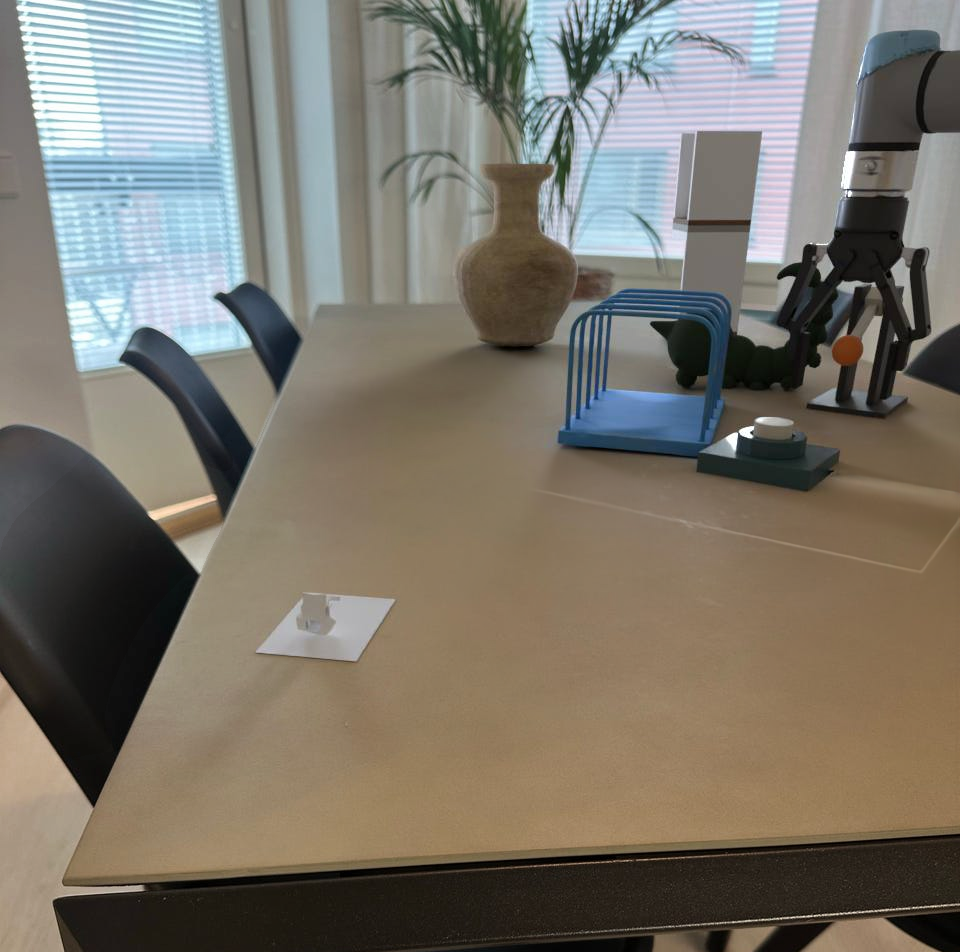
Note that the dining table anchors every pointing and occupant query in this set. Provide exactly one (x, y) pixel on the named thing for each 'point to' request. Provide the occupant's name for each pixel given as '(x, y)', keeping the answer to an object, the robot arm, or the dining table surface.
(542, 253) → the vase
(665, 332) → the toy figurine
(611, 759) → the dining table surface
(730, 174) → the display case
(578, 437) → the file sorter
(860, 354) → the switch lever
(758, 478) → the button base
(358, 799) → the dining table surface
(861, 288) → the orange ball swing frame
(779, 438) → the white button cap
